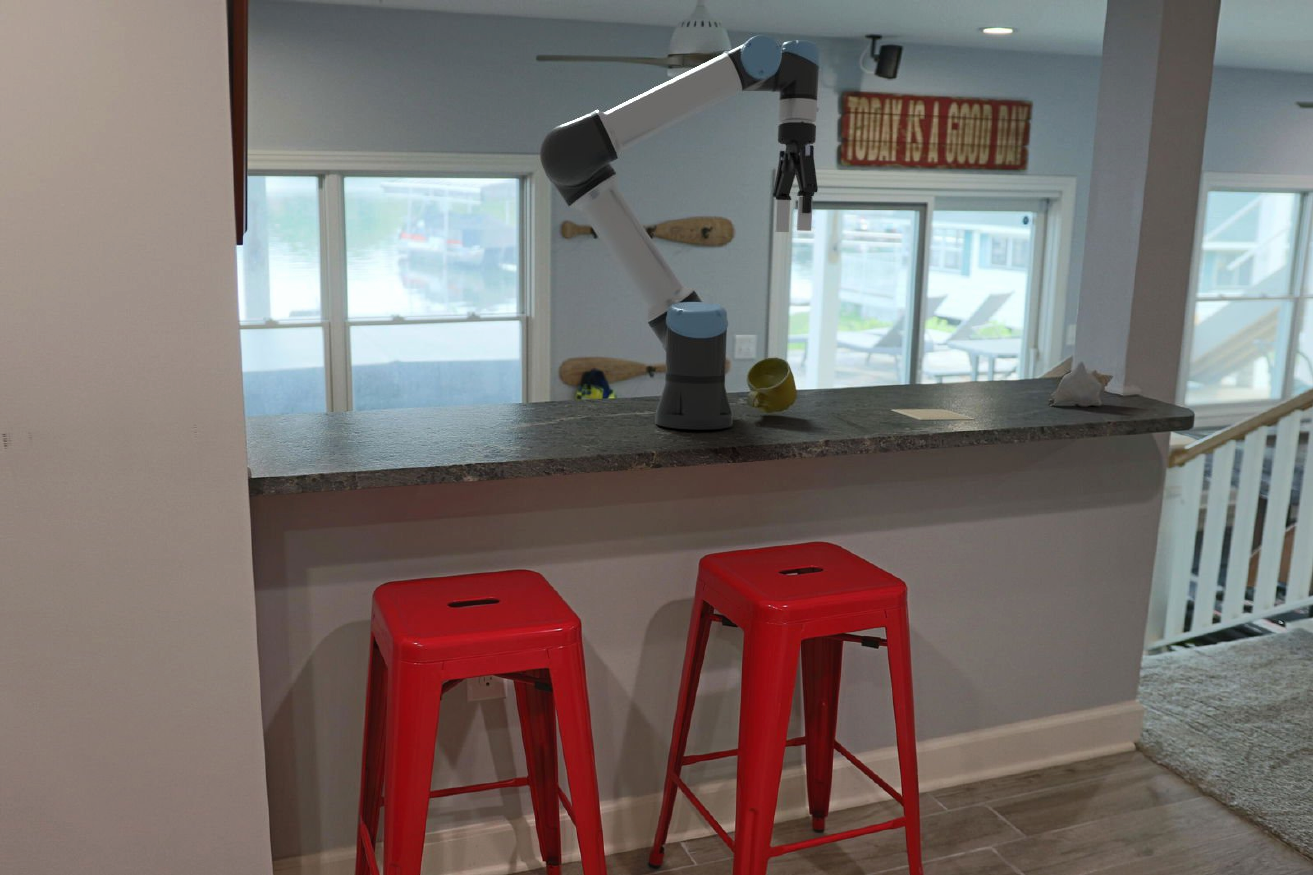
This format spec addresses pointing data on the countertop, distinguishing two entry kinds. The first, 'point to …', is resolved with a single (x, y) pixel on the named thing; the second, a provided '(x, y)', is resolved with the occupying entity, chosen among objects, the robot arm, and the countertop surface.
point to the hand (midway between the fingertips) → (792, 231)
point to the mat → (933, 414)
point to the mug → (771, 385)
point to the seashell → (1081, 387)
